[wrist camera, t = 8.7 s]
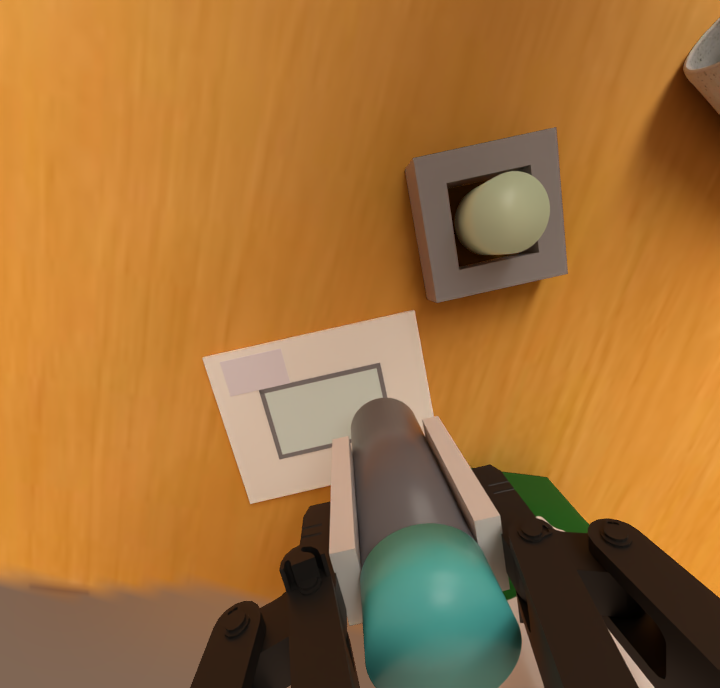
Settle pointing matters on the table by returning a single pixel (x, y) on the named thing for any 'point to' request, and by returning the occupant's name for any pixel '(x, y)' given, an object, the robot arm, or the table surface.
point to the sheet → (312, 397)
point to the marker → (422, 566)
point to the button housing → (435, 221)
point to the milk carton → (562, 516)
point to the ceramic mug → (706, 65)
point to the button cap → (503, 215)
